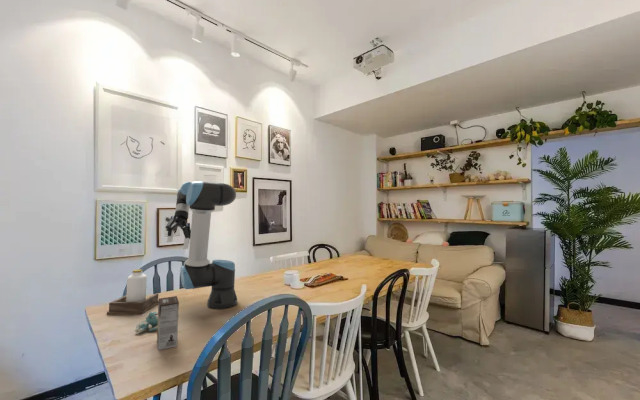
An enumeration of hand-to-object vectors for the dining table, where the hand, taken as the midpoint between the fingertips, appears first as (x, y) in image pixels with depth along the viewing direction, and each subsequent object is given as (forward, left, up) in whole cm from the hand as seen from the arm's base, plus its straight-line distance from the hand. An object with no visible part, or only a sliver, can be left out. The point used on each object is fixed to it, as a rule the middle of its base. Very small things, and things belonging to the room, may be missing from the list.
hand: (178, 245), depth 163 cm
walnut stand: (-7, +21, -29) cm, 37 cm away
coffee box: (-58, +20, -30) cm, 68 cm away
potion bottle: (-7, +21, -29) cm, 36 cm away
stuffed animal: (-39, +22, -30) cm, 54 cm away
